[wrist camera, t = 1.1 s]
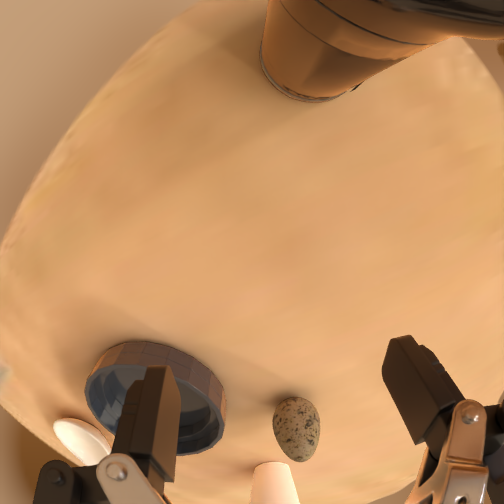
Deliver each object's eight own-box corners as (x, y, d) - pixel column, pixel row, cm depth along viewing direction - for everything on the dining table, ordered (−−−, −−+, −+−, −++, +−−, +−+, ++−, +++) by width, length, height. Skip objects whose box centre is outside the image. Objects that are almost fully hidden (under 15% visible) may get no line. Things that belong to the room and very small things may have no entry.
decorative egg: (274, 418, 38) (280, 475, 28) (267, 392, 36) (272, 453, 26) (315, 410, 37) (328, 466, 28) (312, 383, 35) (327, 442, 26)
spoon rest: (50, 413, 39) (35, 439, 32) (79, 402, 37) (63, 432, 31) (136, 479, 46) (129, 504, 39) (174, 474, 44) (169, 503, 37)
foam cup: (271, 452, 41) (275, 517, 28) (308, 465, 43) (317, 523, 30) (235, 471, 43) (234, 530, 31) (272, 483, 45) (276, 536, 33)
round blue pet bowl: (92, 323, 32) (75, 346, 27) (236, 355, 34) (234, 384, 29) (106, 413, 38) (96, 435, 33) (217, 439, 39) (215, 464, 35)
